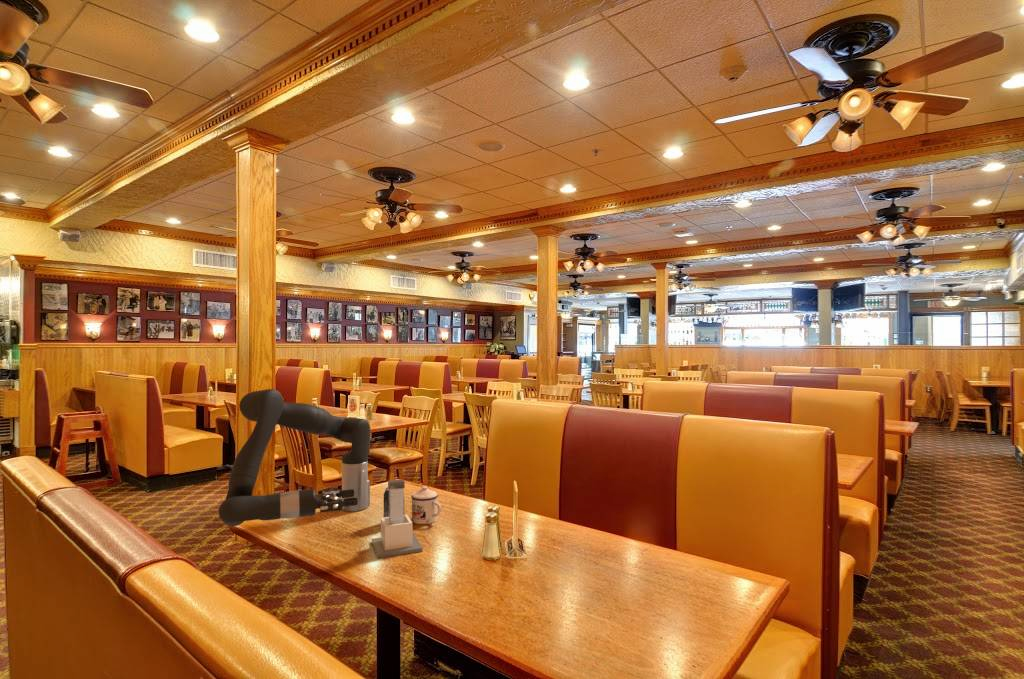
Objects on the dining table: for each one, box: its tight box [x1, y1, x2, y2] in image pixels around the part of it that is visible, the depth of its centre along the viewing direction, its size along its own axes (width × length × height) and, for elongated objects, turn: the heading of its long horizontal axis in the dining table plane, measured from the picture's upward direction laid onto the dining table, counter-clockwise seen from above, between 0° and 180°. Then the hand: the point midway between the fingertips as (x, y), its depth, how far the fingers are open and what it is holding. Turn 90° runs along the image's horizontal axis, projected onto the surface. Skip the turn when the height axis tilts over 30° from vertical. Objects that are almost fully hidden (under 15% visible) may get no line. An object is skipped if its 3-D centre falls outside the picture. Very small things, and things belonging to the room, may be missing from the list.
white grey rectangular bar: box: [387, 478, 406, 525], centre depth 165 cm, size 3×4×18 cm, turn 112°
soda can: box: [383, 486, 389, 517], centre depth 185 cm, size 7×7×12 cm
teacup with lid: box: [410, 485, 442, 525], centre depth 187 cm, size 12×9×12 cm
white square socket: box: [371, 514, 423, 559], centre depth 165 cm, size 13×13×8 cm
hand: (355, 496), depth 163 cm, fingers open, 8 cm apart
